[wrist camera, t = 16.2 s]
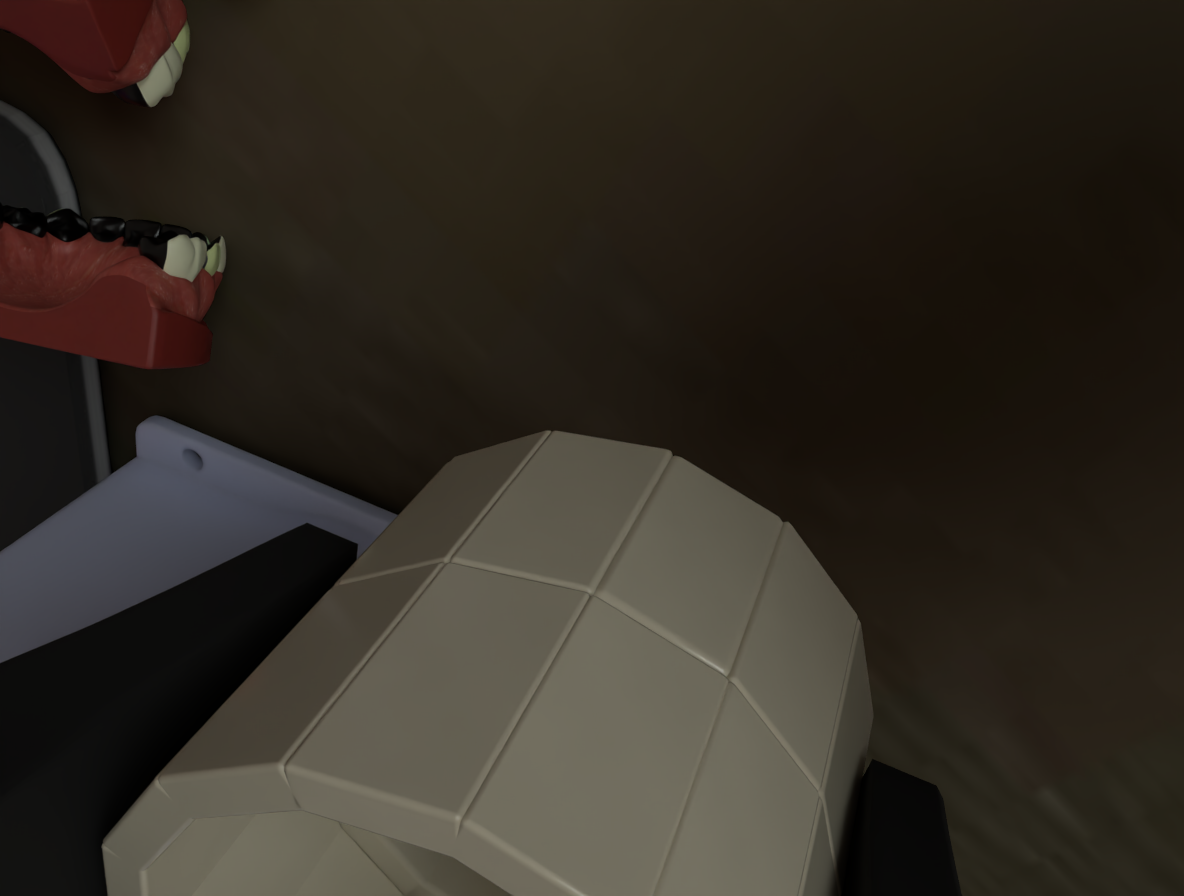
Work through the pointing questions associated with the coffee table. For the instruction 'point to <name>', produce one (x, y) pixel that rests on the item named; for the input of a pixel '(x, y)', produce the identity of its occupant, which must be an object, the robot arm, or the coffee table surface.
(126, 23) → the dental model
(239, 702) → the white cup
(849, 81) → the coffee table surface
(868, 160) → the coffee table surface
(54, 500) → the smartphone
